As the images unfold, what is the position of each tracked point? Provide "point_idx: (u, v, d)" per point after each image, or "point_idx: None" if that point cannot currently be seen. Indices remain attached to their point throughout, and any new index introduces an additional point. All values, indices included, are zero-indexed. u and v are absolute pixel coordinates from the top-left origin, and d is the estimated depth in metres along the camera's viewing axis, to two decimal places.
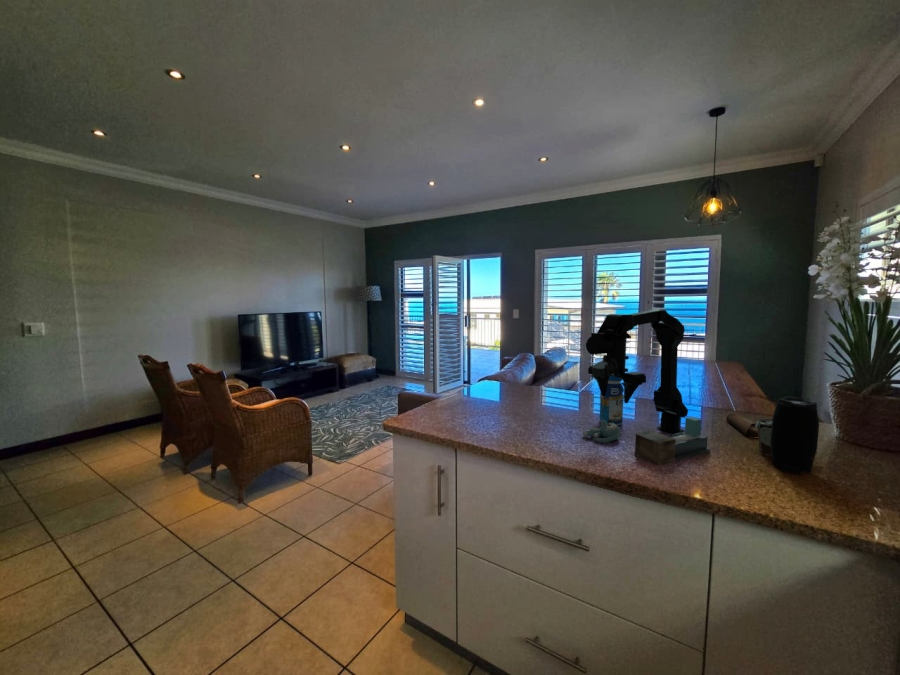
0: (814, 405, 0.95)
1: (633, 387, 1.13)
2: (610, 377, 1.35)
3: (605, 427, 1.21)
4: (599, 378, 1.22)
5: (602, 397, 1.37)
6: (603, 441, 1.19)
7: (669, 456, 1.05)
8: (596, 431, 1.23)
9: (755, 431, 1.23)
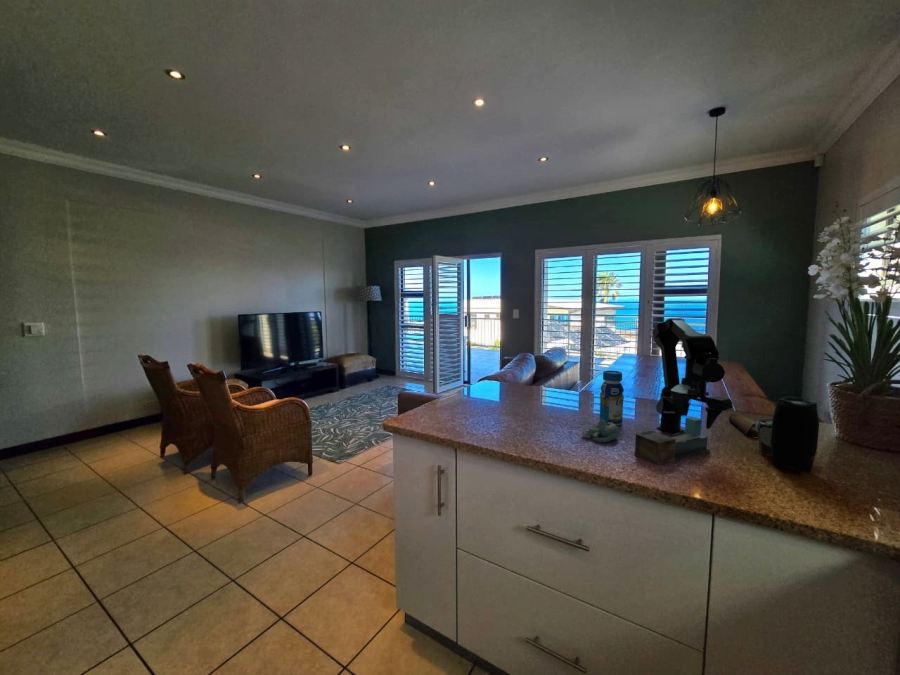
0: (814, 405, 0.95)
1: (717, 412, 1.08)
2: (610, 377, 1.35)
3: (605, 426, 1.21)
4: (675, 401, 1.17)
5: (602, 397, 1.37)
6: (603, 441, 1.19)
7: (669, 456, 1.05)
8: (595, 431, 1.23)
9: (756, 431, 1.23)
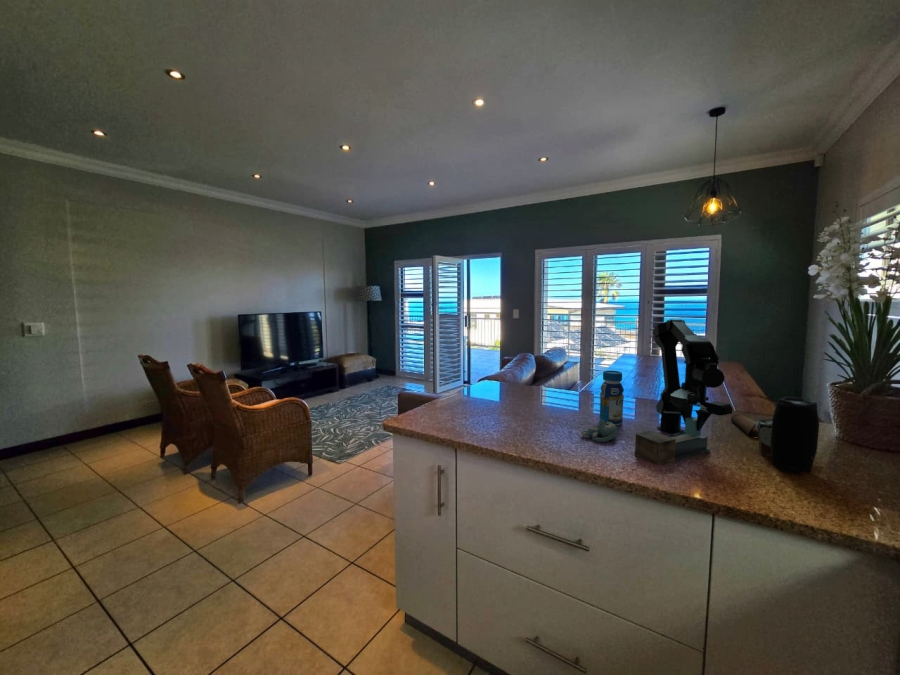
0: (814, 405, 0.95)
1: (706, 415, 1.11)
2: (610, 377, 1.35)
3: (604, 426, 1.21)
4: (683, 408, 1.14)
5: (602, 397, 1.37)
6: (602, 440, 1.19)
7: (669, 456, 1.05)
8: (594, 431, 1.23)
9: None
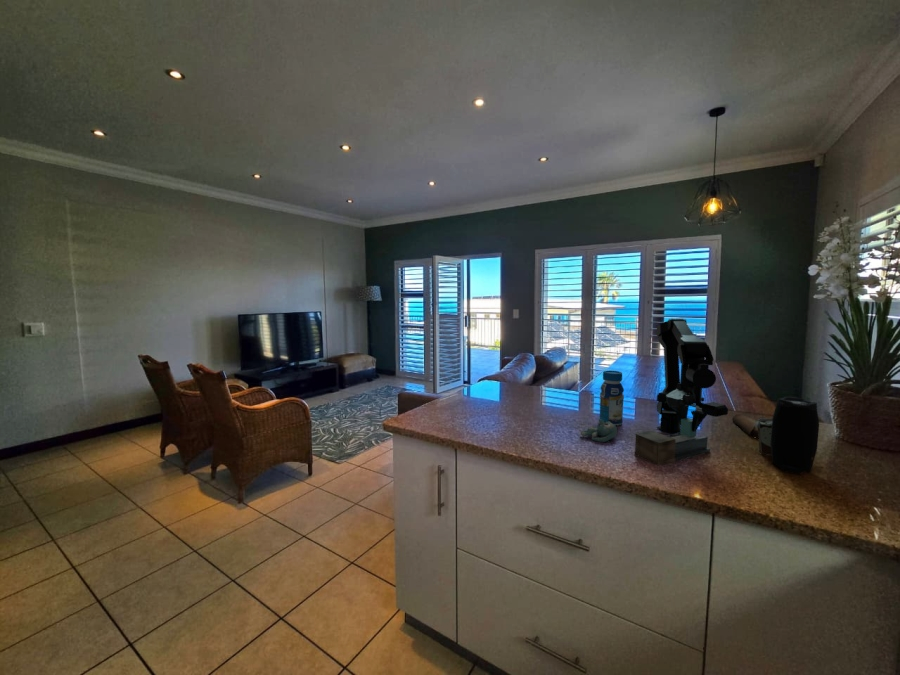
0: (814, 405, 0.95)
1: (702, 415, 1.10)
2: (610, 377, 1.35)
3: (603, 426, 1.22)
4: (679, 409, 1.14)
5: (602, 397, 1.37)
6: (602, 440, 1.19)
7: (669, 456, 1.05)
8: (594, 430, 1.23)
9: None
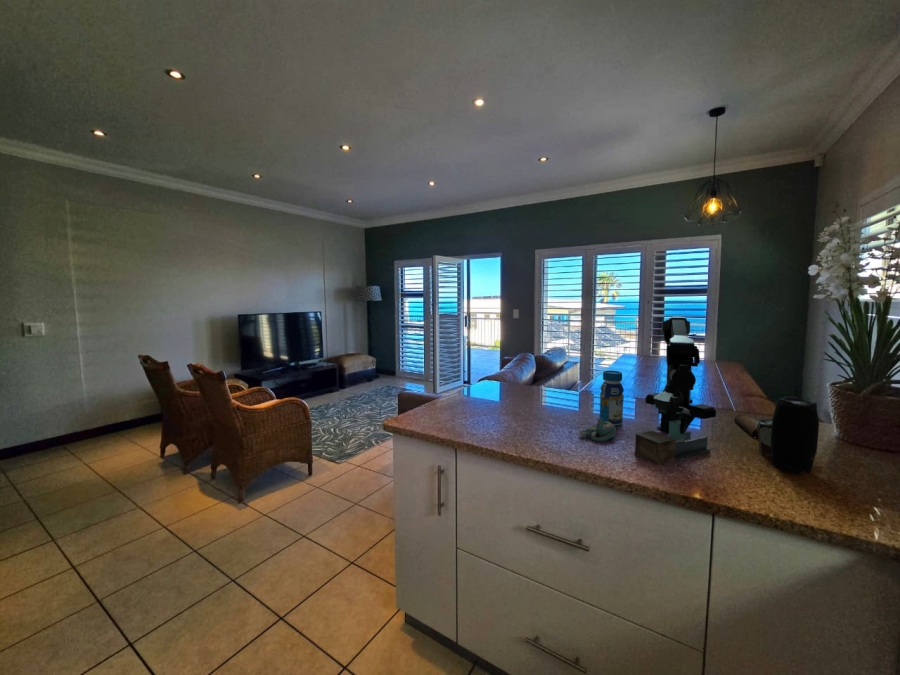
0: (814, 405, 0.95)
1: (690, 418, 1.08)
2: (610, 377, 1.35)
3: (602, 426, 1.22)
4: (667, 411, 1.11)
5: (602, 397, 1.37)
6: (601, 440, 1.20)
7: (669, 456, 1.05)
8: (593, 430, 1.24)
9: None
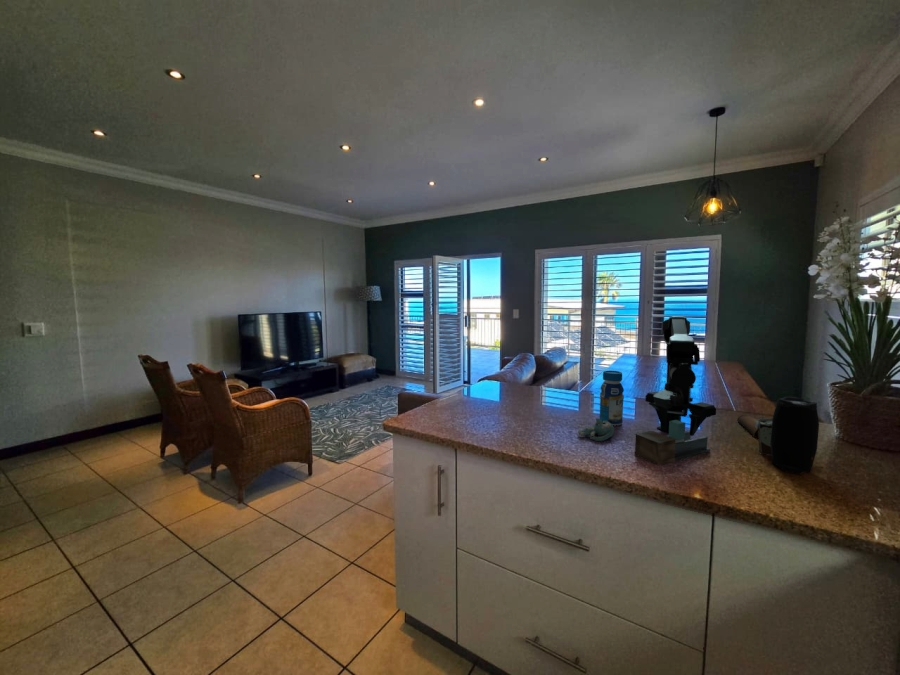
0: (814, 405, 0.95)
1: (700, 419, 1.05)
2: (610, 377, 1.35)
3: (601, 425, 1.22)
4: (659, 407, 1.14)
5: (602, 397, 1.37)
6: (600, 439, 1.20)
7: (669, 456, 1.05)
8: (591, 430, 1.24)
9: None
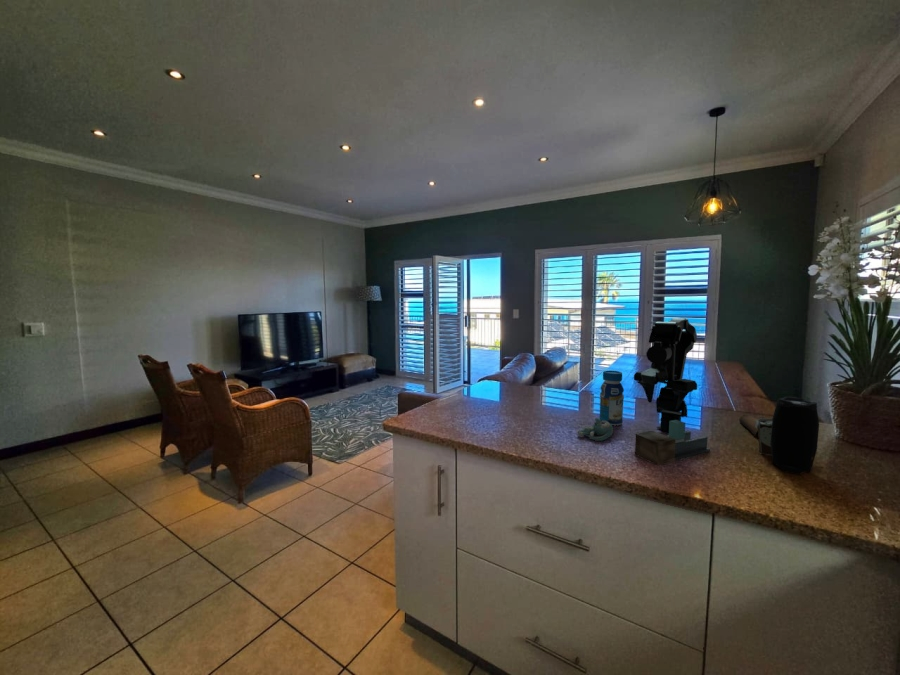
0: (814, 405, 0.95)
1: (683, 394, 1.15)
2: (610, 377, 1.35)
3: (600, 425, 1.23)
4: (646, 384, 1.24)
5: (602, 397, 1.37)
6: (600, 439, 1.20)
7: (669, 456, 1.05)
8: (591, 430, 1.24)
9: None
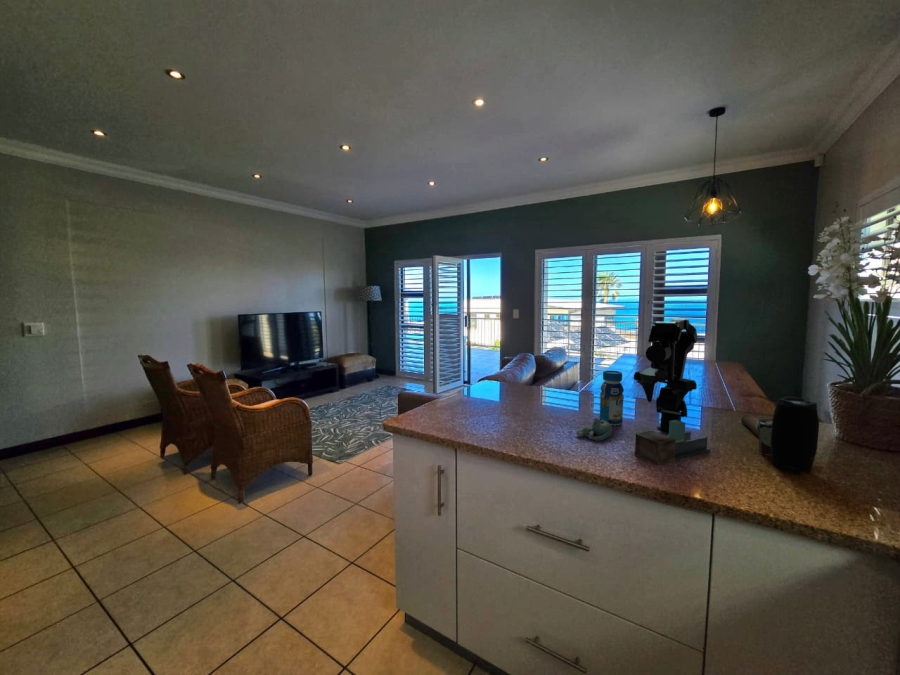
0: (814, 405, 0.95)
1: (683, 393, 1.15)
2: (610, 377, 1.35)
3: (599, 425, 1.23)
4: (645, 384, 1.24)
5: (602, 397, 1.37)
6: (599, 439, 1.20)
7: (669, 456, 1.05)
8: (590, 429, 1.24)
9: None
